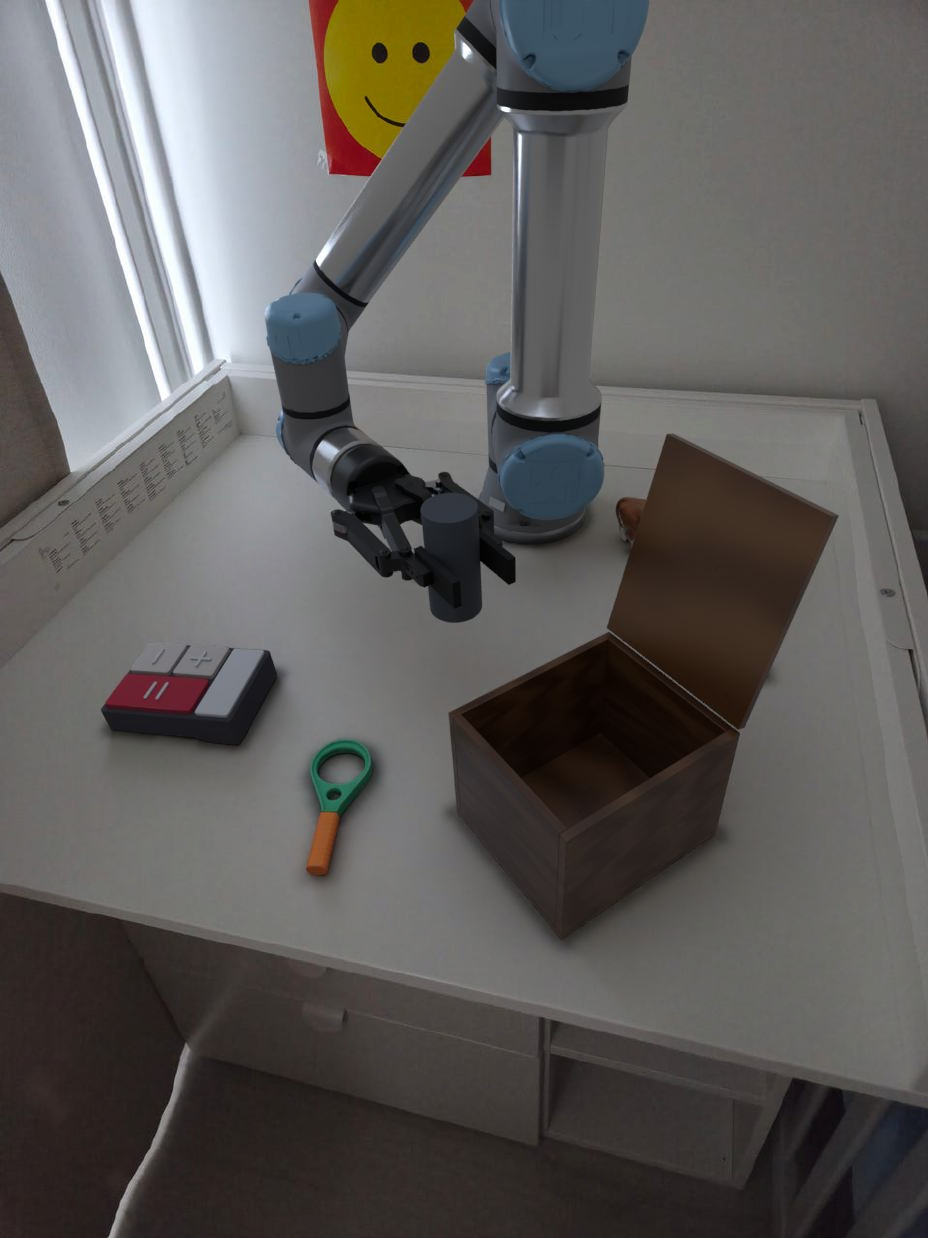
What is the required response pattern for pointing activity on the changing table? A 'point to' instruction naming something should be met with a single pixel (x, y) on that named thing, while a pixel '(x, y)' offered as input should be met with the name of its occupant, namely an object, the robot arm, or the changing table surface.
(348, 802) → the magnifying glass
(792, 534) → the chest lid
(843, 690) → the changing table surface
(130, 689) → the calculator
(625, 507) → the bull figurine
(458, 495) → the canister
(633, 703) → the chest
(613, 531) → the changing table surface
